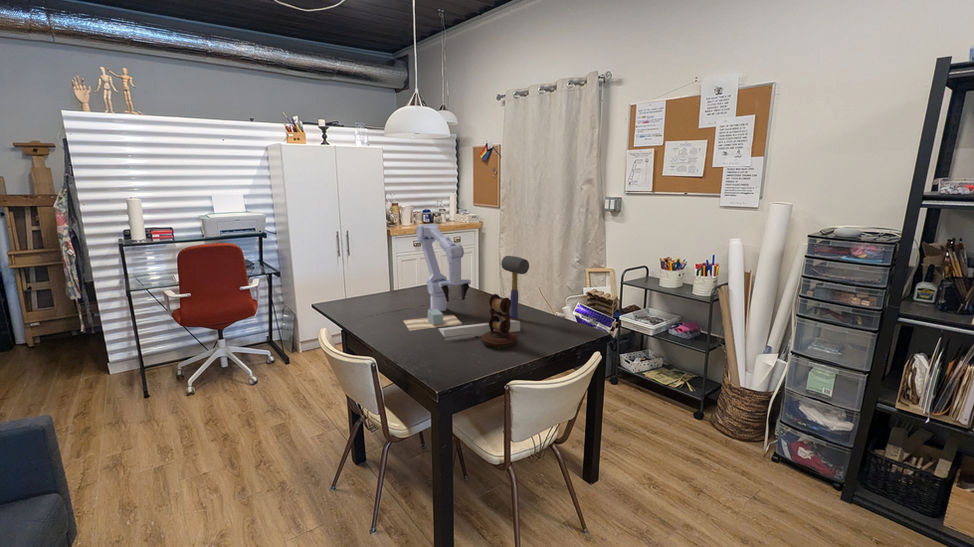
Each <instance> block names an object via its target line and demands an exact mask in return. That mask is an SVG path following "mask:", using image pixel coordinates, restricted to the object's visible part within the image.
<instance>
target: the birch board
mask: <svg viewBox="0 0 974 547" xmlns="http://www.w3.org/2000/svg"><path fill="white" fill-rule="evenodd" d="M402 321H403V323H404V324H405V326H406V327H407V329H408V331H411V332H412V331H418V330H425V329H426V330H427V329H434V328H445V327H453V326H461V325H463V322H462V321H460V320H459V318H457V317H456V316H455V314H449V315H448V314H447V315H443V325H437V326H433V325H432V324H431V323H430V322H429V321H428V317H422V318H413V319H404V320H403V319H402Z"/></svg>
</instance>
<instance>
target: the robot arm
mask: <svg viewBox="0 0 974 547" xmlns="http://www.w3.org/2000/svg"><path fill="white" fill-rule="evenodd" d="M415 234H416V237H417V240H418V243H419V244H420V245H421V248H422V251H423V252H422V253H423V256H424V258H425V261H426V262H425V263H426V266H427V270H428V272H429V276H430V277H429V278H428V279H427V281H426V285H427V293H428V294H429V295H430V308H428V310H431V309H438V310H439V311H440V312H444V311H447V303H448V302H449V300H450V299H449V298H450V297H449V293H450V290H451V286H460V287H461V300H462V301H465V298H466V296H467V292H468V291H469V289H470V285H471V282H472V281H471V279H470V278H469V279H462V258H463V257H464V254H465V253H464V252H465V251H464V248H463V246H462V245H461V244H456V243H455V242H454V241H453V240H452V239H451V238H450V237H449V236H445V235H443V233H442V232H441V230H440V226H439V225H438V224H437V223H436V222H434V223H425V224H424V223H423V224H421V223H420V224H417V226H416V230H415ZM436 241H437V242H438V245H439V247H440V248H441V249H442V250H443V251H444V252H445V256H446V260H447V263H448V278H447V276H445V275H444V274H442V273H441V271H440V266H439V263H438V260H437V256H436V254H435V249H434V247H433V243H434V242H436Z"/></svg>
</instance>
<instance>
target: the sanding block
mask: <svg viewBox="0 0 974 547" xmlns="http://www.w3.org/2000/svg"><path fill="white" fill-rule="evenodd" d="M443 316H444V313H443V311H439V310H438V309H428V310H427V318H428V321H429V322H430V323H431V324H432V325H433V326H437V325H443Z"/></svg>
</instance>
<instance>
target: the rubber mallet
mask: <svg viewBox="0 0 974 547" xmlns="http://www.w3.org/2000/svg"><path fill="white" fill-rule="evenodd" d="M500 263H501V268H502V269H503V270H505V271H507V272H510V273H511V275H512V276H511V290H510V298H509V299H510V301H511V306H510V316H511V318H510V320H515V321H517V320H518V318H519V311H518V310H519V308H518V307H519V306H518V305H519V290H518V278H519V277H518V274H520V275H525V274H526V273H528V271H529V269H530V262H529V261H528V260H527V259H526V258H522V257H519V256H513V255H506V256H504V257H503V258H502V259H501V262H500Z"/></svg>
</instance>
